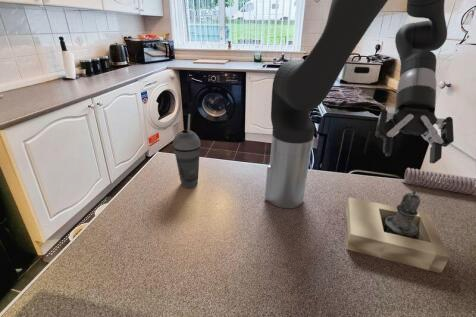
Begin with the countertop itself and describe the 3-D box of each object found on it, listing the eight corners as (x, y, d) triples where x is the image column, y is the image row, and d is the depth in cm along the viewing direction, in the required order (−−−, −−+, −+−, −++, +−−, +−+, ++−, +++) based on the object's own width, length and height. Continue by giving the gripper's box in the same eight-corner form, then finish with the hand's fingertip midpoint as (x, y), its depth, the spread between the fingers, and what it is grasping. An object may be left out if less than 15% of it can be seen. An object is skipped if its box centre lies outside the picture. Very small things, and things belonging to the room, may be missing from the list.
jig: (346, 249, 52) (350, 233, 50) (345, 210, 63) (348, 197, 61) (440, 273, 47) (449, 257, 45) (421, 227, 58) (428, 213, 56)
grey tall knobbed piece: (416, 250, 52) (439, 201, 47) (385, 245, 53) (403, 197, 48) (406, 230, 57) (425, 184, 52) (377, 226, 58) (393, 180, 53)
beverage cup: (181, 175, 76) (175, 108, 67) (205, 178, 75) (203, 110, 66) (172, 189, 69) (164, 117, 60) (198, 192, 68) (194, 119, 59)
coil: (408, 173, 72) (486, 185, 67) (404, 164, 76) (478, 175, 71) (402, 186, 75) (477, 199, 70) (399, 177, 78) (470, 188, 73)
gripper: (386, 81, 58) (378, 146, 54) (461, 87, 54) (460, 158, 50) (377, 99, 65) (369, 158, 61) (443, 105, 61) (440, 170, 57)
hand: (410, 158), depth 55 cm, fingers open, 8 cm apart
